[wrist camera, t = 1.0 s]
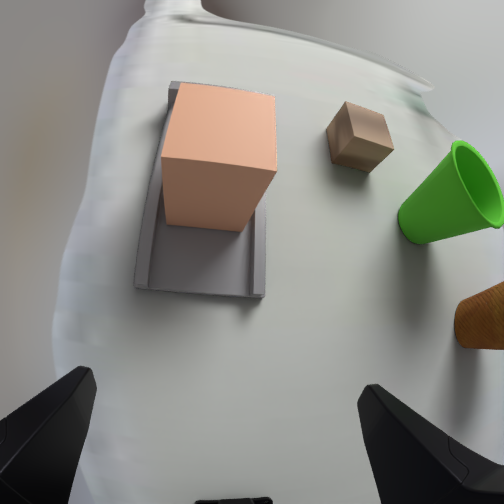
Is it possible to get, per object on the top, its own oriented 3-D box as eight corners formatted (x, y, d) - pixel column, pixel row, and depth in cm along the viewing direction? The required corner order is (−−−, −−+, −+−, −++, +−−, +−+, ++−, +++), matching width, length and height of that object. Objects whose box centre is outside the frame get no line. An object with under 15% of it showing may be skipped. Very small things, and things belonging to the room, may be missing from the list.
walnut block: (369, 173, 30) (394, 149, 25) (331, 163, 29) (354, 135, 24) (361, 139, 32) (383, 115, 27) (326, 129, 30) (345, 101, 26)
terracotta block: (242, 232, 23) (276, 171, 15) (166, 224, 22) (160, 156, 13) (244, 169, 25) (274, 96, 16) (176, 160, 24) (180, 82, 15)
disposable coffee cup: (454, 273, 29) (530, 243, 18) (487, 307, 30) (554, 288, 18) (438, 344, 26) (528, 331, 15) (474, 370, 26) (548, 363, 15)
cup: (435, 273, 28) (510, 243, 18) (379, 241, 27) (458, 194, 17) (437, 210, 31) (498, 172, 21) (386, 176, 31) (447, 123, 20)
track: (262, 298, 23) (277, 290, 19) (135, 287, 21) (125, 277, 17) (263, 111, 29) (273, 86, 25) (172, 98, 27) (174, 72, 23)
